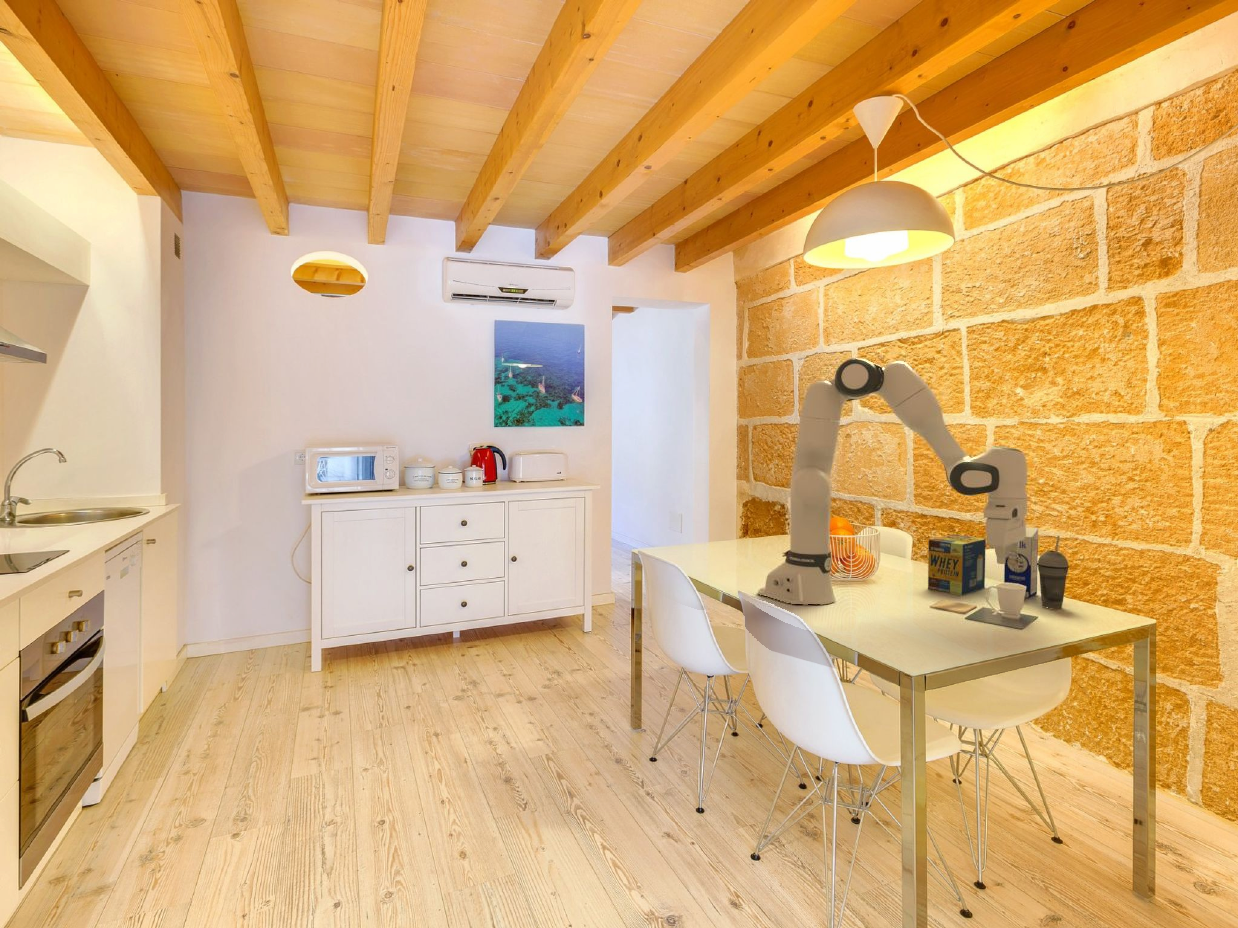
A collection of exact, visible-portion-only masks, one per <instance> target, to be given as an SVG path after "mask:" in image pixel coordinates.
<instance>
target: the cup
mask: <svg viewBox="0 0 1238 928" xmlns="http://www.w3.org/2000/svg"><path fill="white" fill-rule="evenodd" d="M992 588H993V589H996V592H997V601H998V604H999V605H998V606H999V608H1000V609H997V608H996V607H995V606H994V605H993V603H992V602H991V601H990V599H989V593H990V590H991V589H992ZM1025 592H1026V586H1024V585H1020V584H1015V583H1004V582H998V583H997V584H996V585H991V586H989V587H987V589H986V591H985V599H986V603H987V604H988V605H989V607H991V608H992V609H994V610H995V611H996V612H998V613H999V614H1001V616H1004V617H1007V618H1020V615H1019V614H1022V613H1021V612H1022V609H1023V607H1024V602H1025V598H1024V597H1025ZM999 610H1001V611H1002V612H1000V611H999ZM1003 612H1004V613H1003Z"/></svg>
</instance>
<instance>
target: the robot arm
mask: <svg viewBox="0 0 1238 928" xmlns="http://www.w3.org/2000/svg"><path fill="white" fill-rule="evenodd" d="M834 374H835V375H834V378H832V379H831V380H823V379H822V380H817V381H813V382H812V383H811V384H810V385H809V386H808V388H807V390H806V391H805V392H806V393H805V395H804V399H803V402H802V406H801V411H800V416H799V423H798V429H797V437H796V445H795V450H794V457H793V464H792V469H791V477H790V523H789V525H790V530H789V531H790V533H789V534H790V539H789V540H790V542H789V543H790V548H789V549H788V550H786V551H785V552H782V553H781V554H782V557H785V558H784V559H785V560H784V562H782V563H781V564H780V565H778V566H777V567H776V568H774V569H772V570H771V571H770V572H768V574H767V576H766V580H765V586H763V587H761V588H759V589H758V590H757V595H758V594H760V595H759V596H761V595H766V596H768V597H771V598H775V599H777V600H776V601H778V600H780V601H779V602H782V601H785V602H786V604H788V603H791V604H790V605H792V604H803V605H808V604H820V605H827V604H833V603H834V602H835V601H836V597H835V594H834V589H833V584H832V575H831V571H832V552H831V548H830V544H831V543H830V539H831V538H830V537H831V535H830V534H831V531H830V529H831V505H832V504H831V503H832V482H831V473H832V468H833V463H834V458H835V453H836V448H837V443H838V435H839V429H840V422H841V415H842V410H843V407H844V404H845V403H847V402H850V401H856V400H862V399H864V398H867V397H868V396H870V395H878V396H879V397H881V398H882V399H883V400H884V401H885V402H886V404H887V405H888V407H889V408H890V410H891V411H892V412H893V413H894V415H895V416H896V417H897V418H898V420H900V421H901V423H902V424H903V425H905V426H906V427H907V428H908V429H909V430H911V431H913V432H914V433H916V434H917V435H918V436H920V437H921V438H922V439H924V441H925V442H926V443H927V444H928V446H930V448H931V449H932V450H933V452H934V453H935V455H936V456H937V457H938V459H939V460H940V462H941V463H942V465H943V467H944V470H945V477H946V481H947V483H948V484H949V486H950V487H951V488H952V489H953V490H954V491H956V492H957V493H959V494H960V495H963V496H969V497H972V496H973V497H974V496H977V495H982V494H983V495H984V494H987V502H986V503H987V504H986V507H984V509H983V518H986V520H985V532H986V534H985V535H986V545H987V546H988V548H991V549H994V552H995V556H996V563H997V564H998V565H1005V563H1006V557H1005V551H1006V547H1008V546H1009V551H1008V557H1009V558H1016V557H1017V551H1018V547H1019V541H1021V540H1023V539H1025V536H1026V527H1027V526H1026V516H1028V494H1027V490H1026V486H1027V483H1028V465H1027V458H1026V454H1025V453H1024V452H1022V451H1021V450H1020V449H1018V448H1013V447H1007V446H1001V445H994V446H991V448H989V449H988V450H986V451H984V452H982V453H980V454H977V455H975V456H971V455H969V454H967V453H966V451H965V450H964V449H963V448H962V446H960V444H959V443H958V442H957V440H956V438H955V437H954V436H953V435H952V433H951V432H950V430H949V429H948V427H947V425H946V423H945V420H944V416H943V410H942V408H941V404H940V402H939V401H938V398H937V397H936V394H935V393H934V392H933V391H932V389H931V388H930V386H929V385H928V384H927V383H926V381H925V380H924V379H923V378H922V377H921V375H920V374H919V373H918V372H917V371H916V370H914V368H913V367H911V366H910V365H909V364H908V363H906V361H901V360H895V361H892V362H889V363H887V364H885V365H884V366H881V365H879V364H877V363H874V362H872V361H869V360H867V359H864V358H861V357H853V358H849V359H846V360H845V361H844V362H842V363H841V364H840V365H839V366H838V368H837V370H836V371H835V373H834ZM768 597H767V598H768ZM771 598H770V599H771ZM775 599H774V600H775ZM785 602H784V603H785Z"/></svg>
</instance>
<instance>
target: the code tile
mask: <svg viewBox="0 0 1238 928" xmlns="http://www.w3.org/2000/svg"><path fill="white" fill-rule="evenodd" d="M998 610H999V611H1000V612H1002V611H1001V609H998ZM1003 613H1004V612H1003ZM1019 615H1020V618H1007V617H1004V616H1001V614H999V613H998V612H996V611H995V610H994V609H993V608H992V607H991V608H990V607H985V606H982V607H981V608H979V609H977V610H975V611H974V612H972V613H970V614H968V615H967V616H965V617H964V619H965V620H967V621H968V620H969V621H974V622H980V623H984V624H989V625H990V624H991V625H996V626H1001V627H1006V628H1010V629H1015V630H1016V629H1017V630H1023V629H1024V628H1026V627H1027V626H1029V625H1030V624H1031V623H1032V622H1034V621H1035V620H1037V619H1038V618H1039V617H1038V616H1036V615H1029V614H1027V613H1020V614H1019ZM1036 618H1037V619H1036Z"/></svg>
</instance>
